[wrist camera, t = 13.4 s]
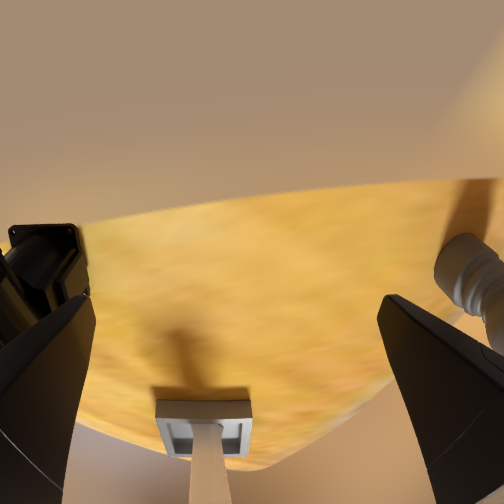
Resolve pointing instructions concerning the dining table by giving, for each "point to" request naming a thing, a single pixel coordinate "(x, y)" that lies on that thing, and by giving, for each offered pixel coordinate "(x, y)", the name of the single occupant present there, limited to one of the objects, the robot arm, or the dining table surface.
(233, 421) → the gray tray
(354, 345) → the dining table surface
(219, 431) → the perfume bottle
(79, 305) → the robot arm
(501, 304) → the candle holder
